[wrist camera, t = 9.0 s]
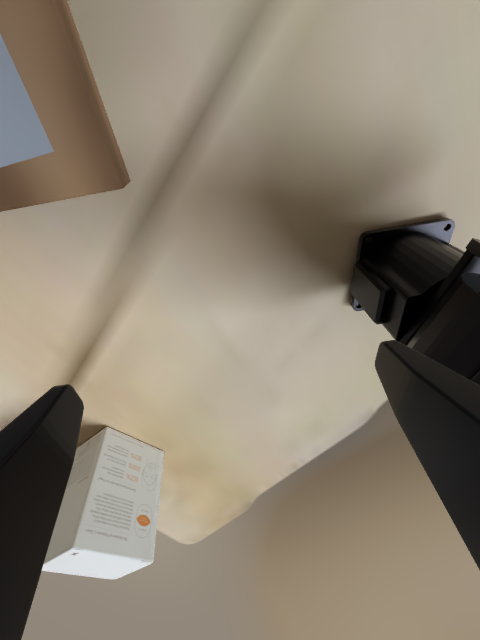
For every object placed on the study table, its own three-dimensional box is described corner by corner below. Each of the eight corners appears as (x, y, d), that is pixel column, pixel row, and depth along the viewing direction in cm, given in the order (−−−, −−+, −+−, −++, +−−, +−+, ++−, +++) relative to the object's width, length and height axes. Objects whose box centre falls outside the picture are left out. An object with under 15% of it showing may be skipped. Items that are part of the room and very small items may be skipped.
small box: (75, 446, 31) (28, 570, 23) (107, 424, 30) (69, 549, 21) (135, 469, 35) (114, 582, 27) (166, 451, 34) (153, 565, 25)
